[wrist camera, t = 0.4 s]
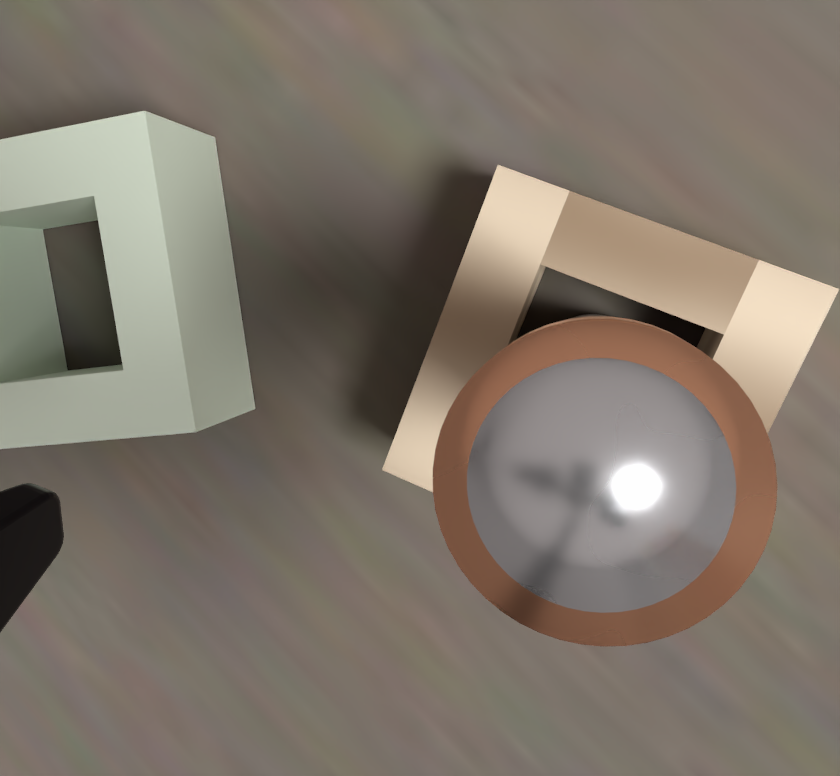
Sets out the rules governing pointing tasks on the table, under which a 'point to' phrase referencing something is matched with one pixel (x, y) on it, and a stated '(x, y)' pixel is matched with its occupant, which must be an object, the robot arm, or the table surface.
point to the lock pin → (604, 482)
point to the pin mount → (612, 270)
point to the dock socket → (120, 284)
